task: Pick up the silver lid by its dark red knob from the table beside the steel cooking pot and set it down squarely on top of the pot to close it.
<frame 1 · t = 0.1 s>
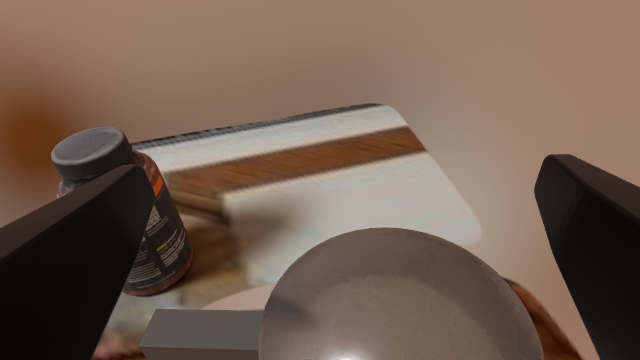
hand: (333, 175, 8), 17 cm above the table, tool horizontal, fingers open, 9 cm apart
supplement bottle: (157, 268, 29), on the table
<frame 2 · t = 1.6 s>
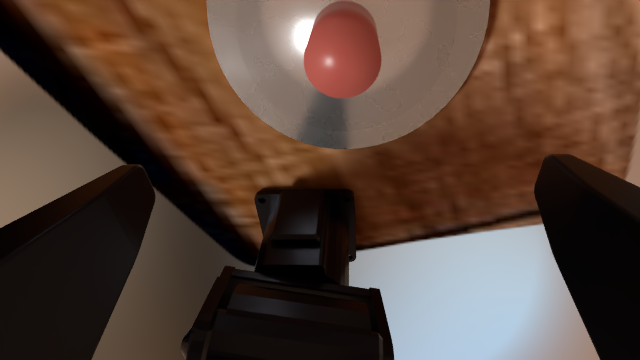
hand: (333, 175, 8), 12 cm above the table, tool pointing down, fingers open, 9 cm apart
lid: (344, 26, 18), on the table
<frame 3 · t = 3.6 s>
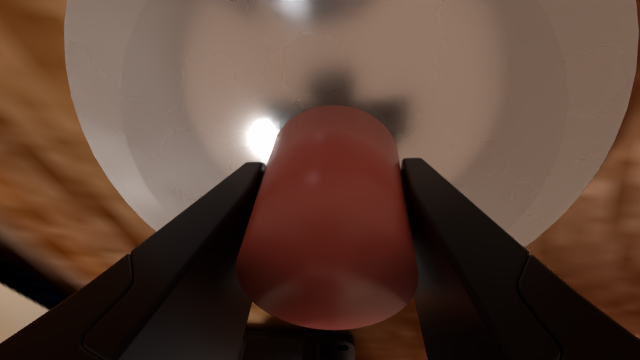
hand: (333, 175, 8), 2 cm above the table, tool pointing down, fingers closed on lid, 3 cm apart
lid: (336, 128, 10), on the table, touching gripper
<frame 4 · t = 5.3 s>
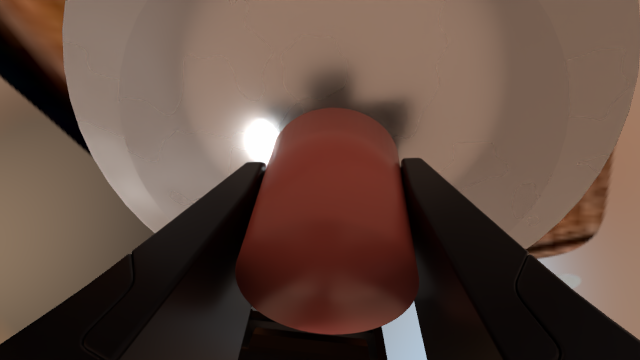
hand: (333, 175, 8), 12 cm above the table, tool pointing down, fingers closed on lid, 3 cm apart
lid: (336, 131, 10), point 10 cm above the table, touching gripper
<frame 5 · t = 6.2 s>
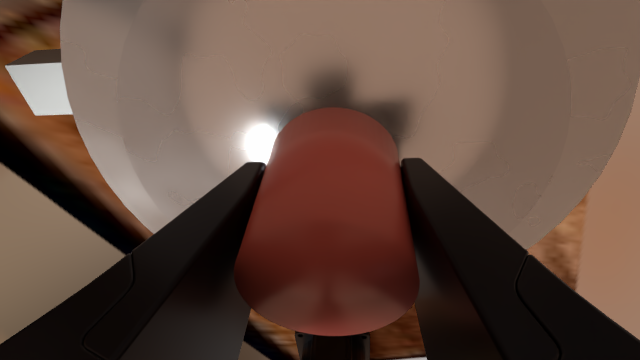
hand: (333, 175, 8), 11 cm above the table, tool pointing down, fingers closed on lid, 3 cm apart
lid: (336, 130, 10), point 9 cm above the table, touching gripper
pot: (343, 30, 17), on the table
when the fingers open (9 cm above the table, at t = 7.0 s): lid drops 1 cm, resting on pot.
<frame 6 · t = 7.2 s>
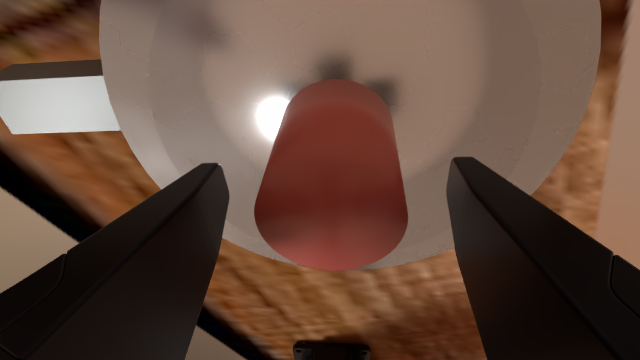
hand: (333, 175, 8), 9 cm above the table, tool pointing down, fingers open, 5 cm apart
lid: (338, 105, 11), point 6 cm above the table, touching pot
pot: (342, 41, 16), on the table
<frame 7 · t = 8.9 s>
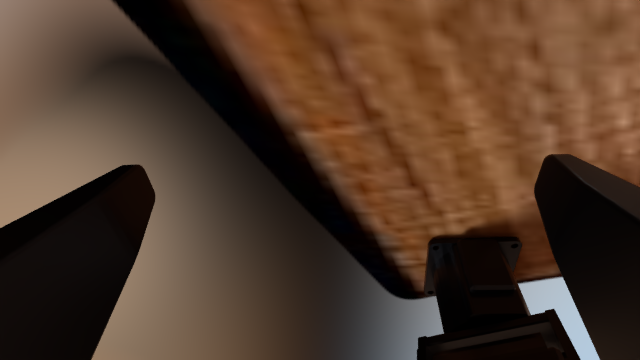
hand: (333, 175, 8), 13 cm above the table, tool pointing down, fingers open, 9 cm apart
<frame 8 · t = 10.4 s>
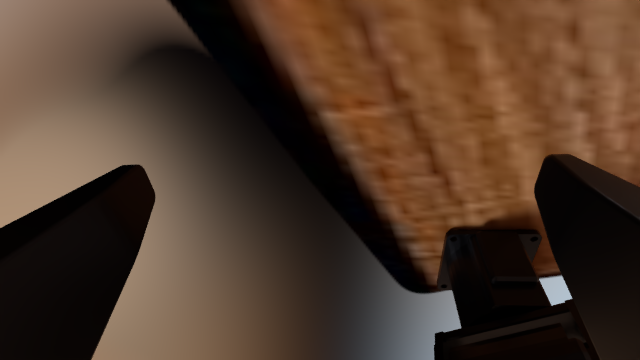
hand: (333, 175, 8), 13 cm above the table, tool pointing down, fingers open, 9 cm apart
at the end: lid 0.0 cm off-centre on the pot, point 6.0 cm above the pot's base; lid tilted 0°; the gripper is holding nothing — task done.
